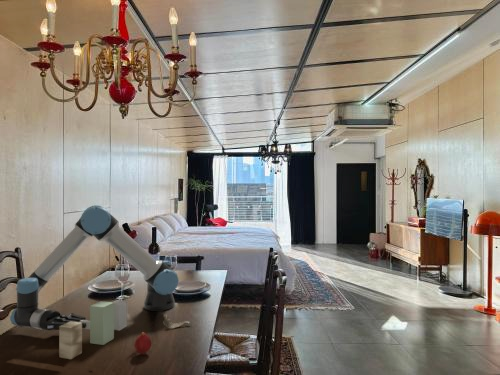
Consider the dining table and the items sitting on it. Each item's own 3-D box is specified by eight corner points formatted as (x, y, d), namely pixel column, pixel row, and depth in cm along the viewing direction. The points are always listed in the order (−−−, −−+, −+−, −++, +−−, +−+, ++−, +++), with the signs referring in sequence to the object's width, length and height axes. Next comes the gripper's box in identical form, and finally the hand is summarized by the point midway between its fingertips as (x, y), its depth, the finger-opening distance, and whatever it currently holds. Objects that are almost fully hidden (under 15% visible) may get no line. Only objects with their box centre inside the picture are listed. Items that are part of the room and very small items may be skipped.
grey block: (116, 328, 152) (117, 299, 152) (126, 329, 150) (126, 300, 150) (109, 332, 147) (109, 303, 147) (119, 333, 145) (119, 304, 146)
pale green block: (90, 343, 133) (90, 305, 133) (100, 336, 139) (101, 301, 139) (103, 344, 132) (103, 307, 132) (113, 338, 137) (113, 302, 137)
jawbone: (174, 334, 147) (174, 329, 147) (147, 322, 161) (147, 318, 161) (191, 326, 154) (191, 321, 154) (164, 316, 168) (164, 311, 168)
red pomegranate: (136, 351, 129) (136, 329, 129) (152, 350, 130) (152, 328, 130) (132, 358, 123) (132, 335, 124) (149, 357, 124) (149, 334, 124)
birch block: (70, 354, 126) (70, 321, 127) (81, 356, 125) (81, 322, 125) (59, 361, 122) (59, 326, 122) (71, 363, 120) (71, 327, 120)
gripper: (59, 323, 149) (106, 329, 142) (32, 335, 136) (82, 342, 130) (59, 305, 149) (106, 310, 142) (32, 315, 137) (82, 321, 130)
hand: (94, 325), depth 136 cm, fingers closed
